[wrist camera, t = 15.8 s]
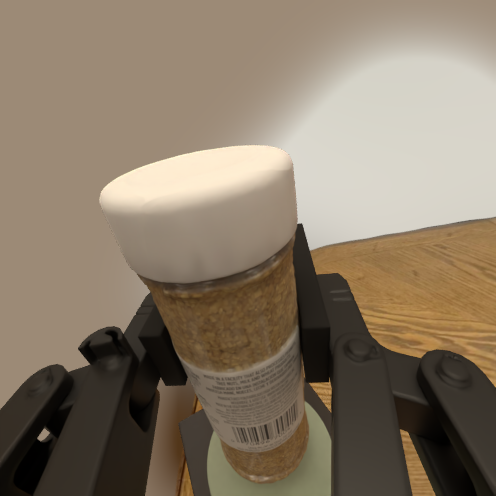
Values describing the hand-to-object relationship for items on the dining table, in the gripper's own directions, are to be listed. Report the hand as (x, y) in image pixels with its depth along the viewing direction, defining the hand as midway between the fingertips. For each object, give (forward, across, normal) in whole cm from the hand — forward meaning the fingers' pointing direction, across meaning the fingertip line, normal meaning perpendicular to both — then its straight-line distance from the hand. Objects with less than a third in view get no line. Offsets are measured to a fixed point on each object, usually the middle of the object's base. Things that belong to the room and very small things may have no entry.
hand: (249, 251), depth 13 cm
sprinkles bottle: (-5, 0, -8) cm, 9 cm away
